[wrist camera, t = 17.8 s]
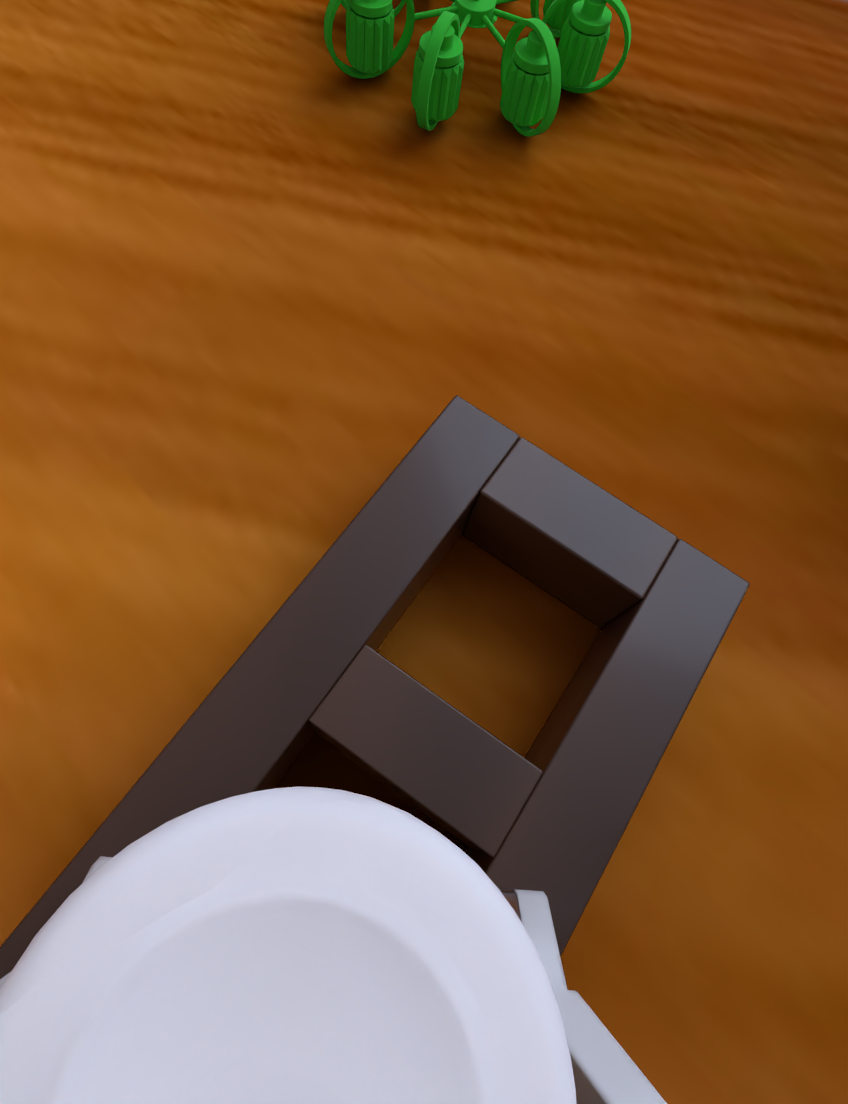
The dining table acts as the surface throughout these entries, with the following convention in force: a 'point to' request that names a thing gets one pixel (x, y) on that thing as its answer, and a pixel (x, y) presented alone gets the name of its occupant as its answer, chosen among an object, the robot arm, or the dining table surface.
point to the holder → (423, 717)
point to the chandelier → (523, 73)
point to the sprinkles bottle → (284, 970)
